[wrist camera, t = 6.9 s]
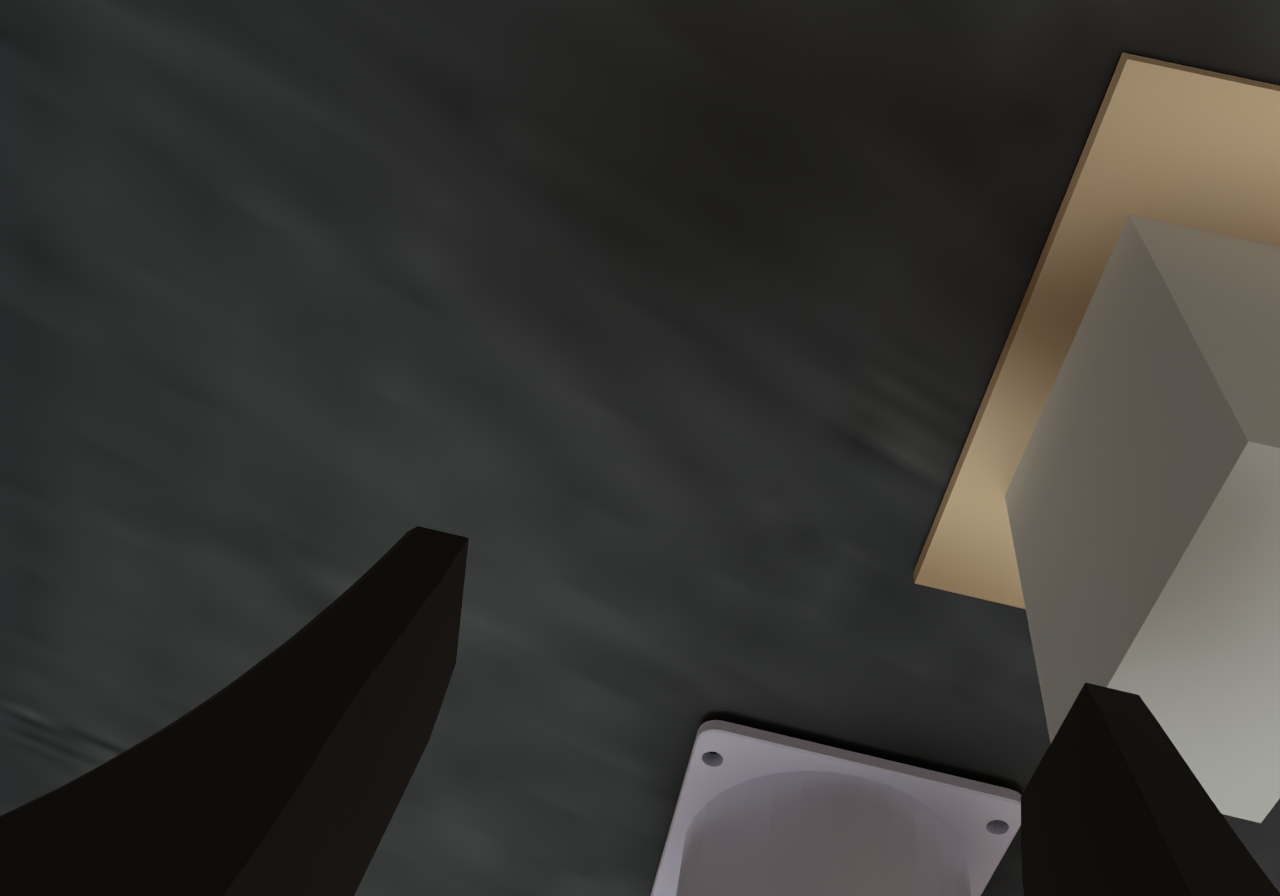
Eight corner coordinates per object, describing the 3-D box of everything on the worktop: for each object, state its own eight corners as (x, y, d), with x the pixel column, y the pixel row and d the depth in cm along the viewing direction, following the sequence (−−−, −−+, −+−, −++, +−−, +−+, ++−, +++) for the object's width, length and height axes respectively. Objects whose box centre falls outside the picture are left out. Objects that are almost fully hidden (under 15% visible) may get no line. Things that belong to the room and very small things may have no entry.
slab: (1155, 530, 22) (1260, 823, 16) (1004, 496, 22) (1056, 774, 17) (1308, 253, 19) (1507, 500, 13) (1128, 214, 19) (1248, 441, 13)
